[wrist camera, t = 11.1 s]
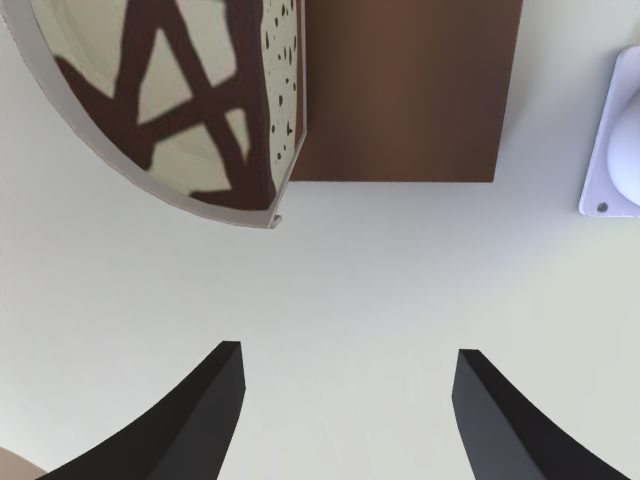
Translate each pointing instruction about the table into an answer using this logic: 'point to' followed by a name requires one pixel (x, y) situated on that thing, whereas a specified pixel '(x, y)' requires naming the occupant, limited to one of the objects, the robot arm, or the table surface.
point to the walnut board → (406, 89)
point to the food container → (178, 93)
